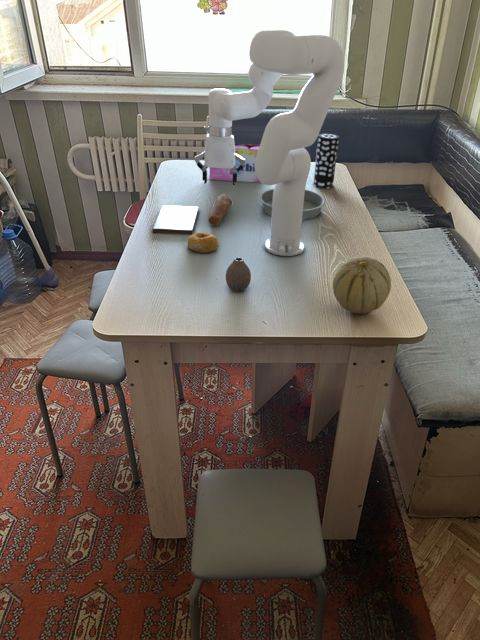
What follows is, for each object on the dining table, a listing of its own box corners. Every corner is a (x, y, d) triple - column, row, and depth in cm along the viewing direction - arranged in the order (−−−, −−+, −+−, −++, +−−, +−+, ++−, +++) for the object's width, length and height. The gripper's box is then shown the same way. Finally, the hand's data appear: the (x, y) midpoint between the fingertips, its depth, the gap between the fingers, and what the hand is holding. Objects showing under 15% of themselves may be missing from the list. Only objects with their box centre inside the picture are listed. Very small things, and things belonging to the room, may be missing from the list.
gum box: (266, 177, 230) (267, 145, 222) (265, 183, 223) (267, 150, 215) (211, 174, 230) (211, 141, 222) (209, 179, 223) (208, 146, 215)
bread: (232, 209, 196) (233, 194, 193) (220, 228, 181) (220, 212, 177) (216, 207, 197) (216, 192, 194) (202, 226, 181) (202, 210, 178)
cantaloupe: (378, 296, 146) (388, 245, 138) (391, 324, 134) (403, 271, 126) (326, 294, 145) (332, 244, 137) (333, 323, 133) (341, 269, 125)
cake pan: (249, 215, 192) (250, 203, 189) (270, 195, 211) (271, 183, 208) (315, 226, 186) (316, 214, 183) (330, 204, 205) (332, 193, 202)
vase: (237, 280, 150) (237, 251, 145) (255, 288, 147) (256, 259, 142) (220, 288, 146) (220, 259, 141) (239, 296, 142) (239, 267, 137)
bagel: (223, 243, 171) (223, 229, 168) (211, 256, 162) (211, 242, 159) (194, 238, 173) (194, 224, 170) (181, 252, 164) (180, 237, 161)
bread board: (192, 234, 175) (191, 230, 174) (152, 232, 175) (152, 228, 174) (198, 210, 193) (198, 206, 192) (162, 209, 193) (162, 205, 192)
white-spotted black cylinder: (309, 183, 226) (314, 134, 214) (326, 181, 229) (332, 133, 217) (319, 189, 220) (325, 139, 208) (336, 187, 223) (343, 137, 211)
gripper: (192, 132, 169) (193, 185, 179) (246, 135, 169) (244, 188, 179) (194, 126, 175) (195, 178, 185) (247, 129, 175) (245, 181, 185)
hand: (219, 183), depth 182 cm, fingers open, 9 cm apart
